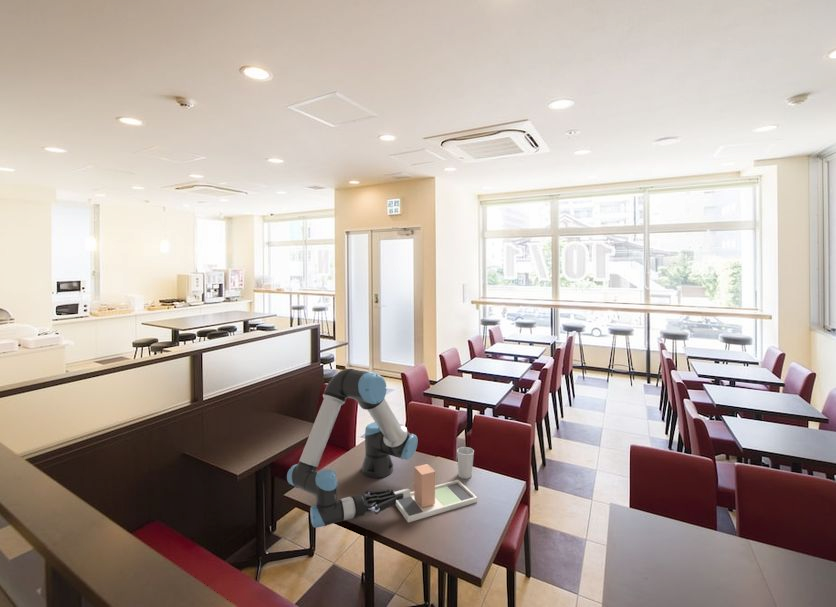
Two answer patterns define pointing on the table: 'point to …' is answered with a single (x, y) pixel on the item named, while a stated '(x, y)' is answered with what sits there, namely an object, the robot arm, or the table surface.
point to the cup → (465, 462)
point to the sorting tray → (437, 501)
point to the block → (424, 485)
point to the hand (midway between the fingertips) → (409, 492)
